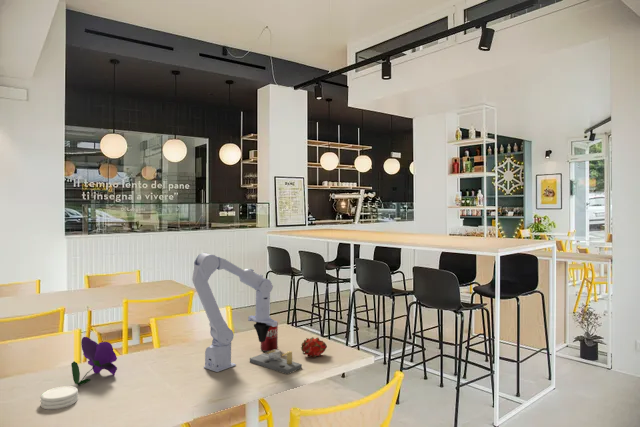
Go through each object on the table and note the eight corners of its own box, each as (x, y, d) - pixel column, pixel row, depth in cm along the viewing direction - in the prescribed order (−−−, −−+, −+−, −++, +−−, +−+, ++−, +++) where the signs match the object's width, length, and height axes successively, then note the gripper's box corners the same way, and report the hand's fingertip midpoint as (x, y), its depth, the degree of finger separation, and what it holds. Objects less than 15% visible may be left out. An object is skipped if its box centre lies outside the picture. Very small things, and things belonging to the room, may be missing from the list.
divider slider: (270, 362, 169) (270, 353, 169) (264, 360, 171) (264, 351, 171) (280, 358, 174) (280, 349, 174) (275, 356, 175) (275, 347, 175)
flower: (102, 401, 149) (127, 370, 160) (86, 369, 142) (113, 339, 153) (67, 396, 153) (94, 366, 164) (50, 364, 146) (79, 336, 157)
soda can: (258, 348, 191) (258, 320, 191) (274, 346, 194) (274, 319, 194) (263, 353, 185) (263, 324, 185) (279, 351, 188) (280, 323, 188)
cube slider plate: (287, 374, 162) (287, 357, 162) (249, 362, 174) (249, 346, 174) (301, 368, 168) (301, 352, 168) (264, 356, 180) (264, 342, 180)
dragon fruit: (298, 361, 180) (324, 361, 185) (306, 354, 174) (333, 354, 179) (295, 341, 185) (321, 342, 190) (304, 333, 179) (330, 334, 184)
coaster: (84, 396, 141) (84, 385, 141) (67, 410, 131) (67, 398, 131) (52, 396, 141) (52, 385, 141) (33, 410, 131) (33, 398, 131)
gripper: (282, 308, 176) (282, 342, 176) (257, 303, 185) (256, 335, 185) (270, 311, 171) (269, 346, 171) (244, 306, 180) (244, 339, 180)
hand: (262, 341), depth 178 cm, fingers closed
